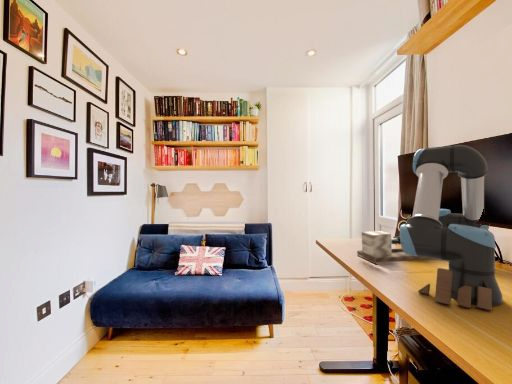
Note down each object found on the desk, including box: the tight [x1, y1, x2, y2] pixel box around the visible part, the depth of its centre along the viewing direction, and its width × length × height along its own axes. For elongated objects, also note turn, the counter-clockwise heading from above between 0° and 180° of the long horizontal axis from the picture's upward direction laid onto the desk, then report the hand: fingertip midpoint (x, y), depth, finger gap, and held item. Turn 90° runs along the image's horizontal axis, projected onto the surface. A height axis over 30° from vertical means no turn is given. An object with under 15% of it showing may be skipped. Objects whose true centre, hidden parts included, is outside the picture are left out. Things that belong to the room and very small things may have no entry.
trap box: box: [356, 247, 430, 266], centre depth 126 cm, size 44×15×3 cm, turn 100°
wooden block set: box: [417, 267, 493, 312], centre depth 77 cm, size 18×9×10 cm, turn 49°
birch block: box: [361, 230, 393, 258], centre depth 123 cm, size 10×9×12 cm
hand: (385, 241), depth 124 cm, fingers closed
